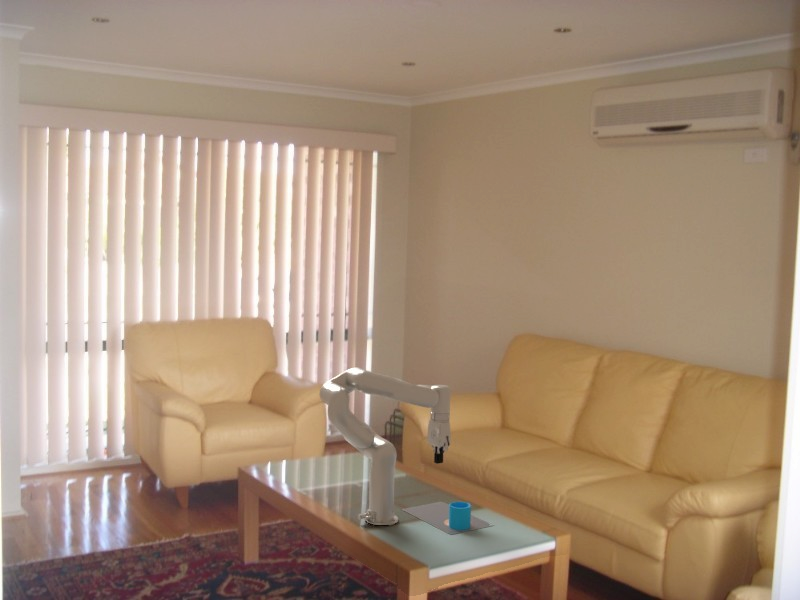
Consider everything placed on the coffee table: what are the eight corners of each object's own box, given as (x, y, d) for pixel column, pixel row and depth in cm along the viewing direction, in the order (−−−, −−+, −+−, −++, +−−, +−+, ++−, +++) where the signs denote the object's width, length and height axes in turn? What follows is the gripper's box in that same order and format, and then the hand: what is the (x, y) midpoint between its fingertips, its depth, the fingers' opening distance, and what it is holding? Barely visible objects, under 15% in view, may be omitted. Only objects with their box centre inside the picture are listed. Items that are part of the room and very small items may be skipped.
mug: (473, 529, 320) (473, 507, 320) (452, 530, 319) (452, 509, 318) (464, 518, 332) (464, 498, 331) (443, 520, 330) (444, 499, 330)
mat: (451, 534, 314) (451, 534, 314) (400, 509, 343) (400, 509, 343) (493, 525, 325) (493, 525, 325) (441, 501, 354) (441, 501, 354)
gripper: (421, 413, 339) (420, 459, 341) (443, 421, 327) (441, 468, 328) (436, 412, 343) (435, 457, 345) (459, 419, 331) (457, 466, 332)
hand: (438, 462), depth 336 cm, fingers closed
